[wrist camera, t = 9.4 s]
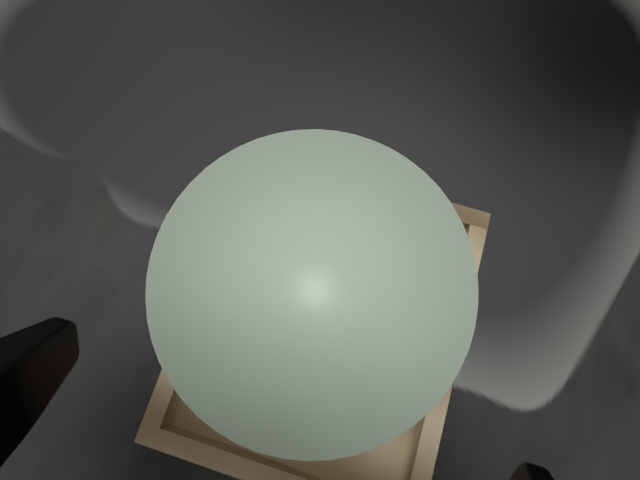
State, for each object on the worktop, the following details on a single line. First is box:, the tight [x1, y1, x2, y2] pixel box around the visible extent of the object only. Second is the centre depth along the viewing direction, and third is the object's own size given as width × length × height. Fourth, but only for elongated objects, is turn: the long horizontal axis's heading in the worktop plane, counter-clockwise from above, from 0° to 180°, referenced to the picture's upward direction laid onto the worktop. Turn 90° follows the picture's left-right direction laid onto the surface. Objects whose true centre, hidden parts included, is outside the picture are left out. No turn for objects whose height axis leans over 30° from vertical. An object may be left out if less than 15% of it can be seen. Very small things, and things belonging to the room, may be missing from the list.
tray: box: [134, 203, 491, 480], centre depth 20 cm, size 14×12×2 cm
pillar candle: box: [145, 129, 478, 461], centre depth 14 cm, size 6×6×13 cm
